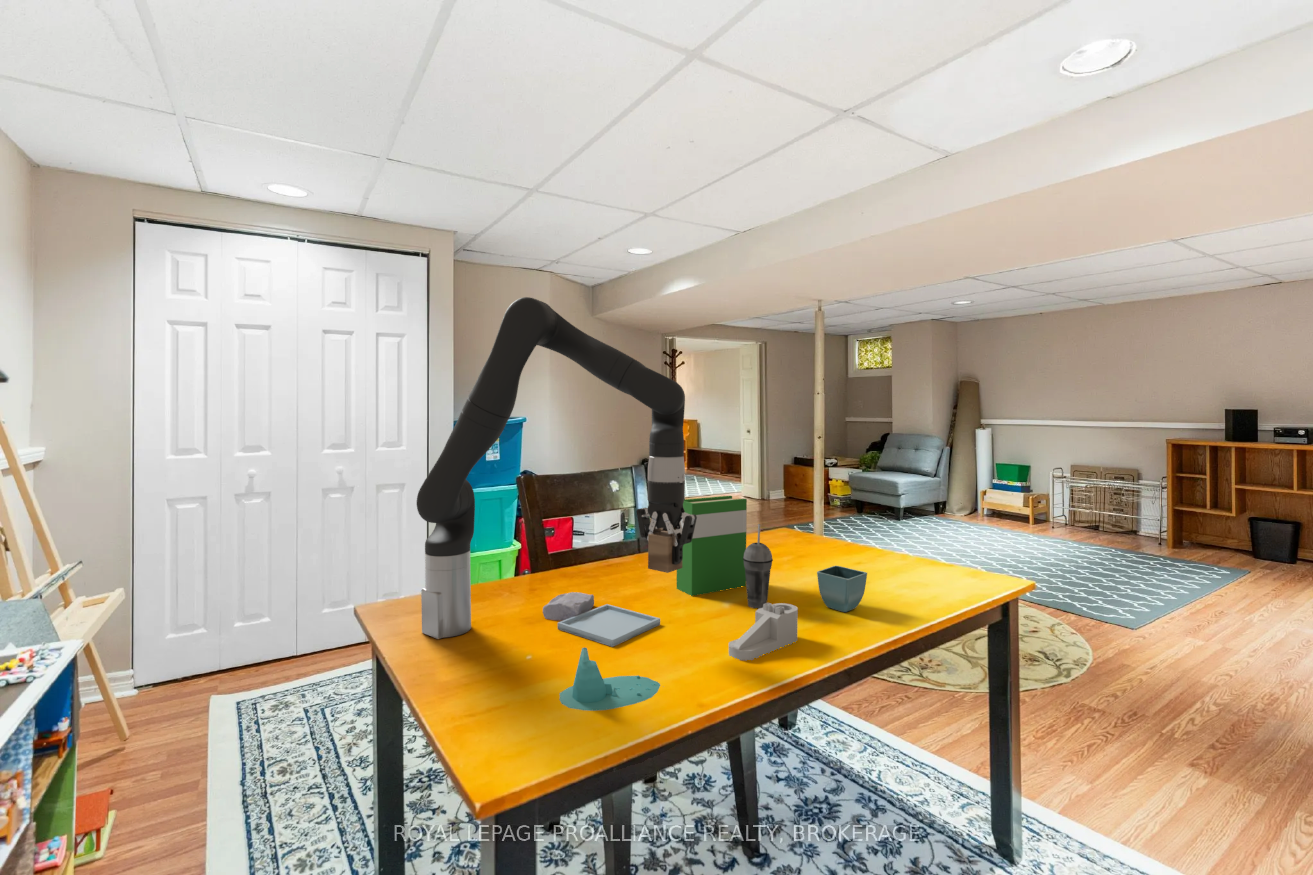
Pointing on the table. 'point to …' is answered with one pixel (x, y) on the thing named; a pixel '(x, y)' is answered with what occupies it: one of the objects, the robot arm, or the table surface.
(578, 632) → the dish
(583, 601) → the stone block
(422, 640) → the table surface
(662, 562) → the walnut block
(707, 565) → the hardback book
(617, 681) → the diorama
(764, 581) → the beverage cup
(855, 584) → the flower pot
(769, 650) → the sloped support bracket
